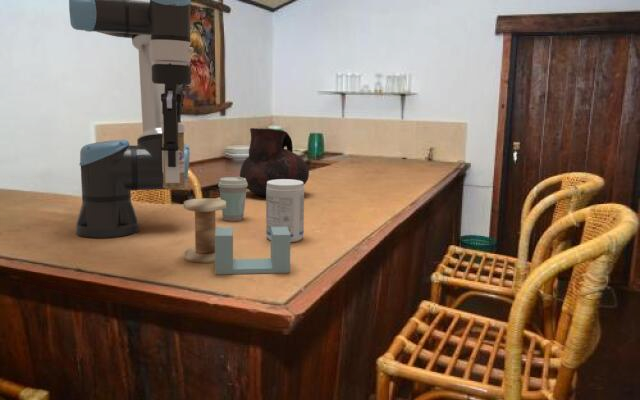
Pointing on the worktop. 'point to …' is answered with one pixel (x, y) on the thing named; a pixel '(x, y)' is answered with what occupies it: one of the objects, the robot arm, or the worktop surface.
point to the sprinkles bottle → (181, 158)
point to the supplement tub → (285, 207)
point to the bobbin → (203, 228)
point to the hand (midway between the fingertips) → (173, 180)
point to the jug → (271, 160)
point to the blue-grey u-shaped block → (252, 266)
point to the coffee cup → (233, 197)
